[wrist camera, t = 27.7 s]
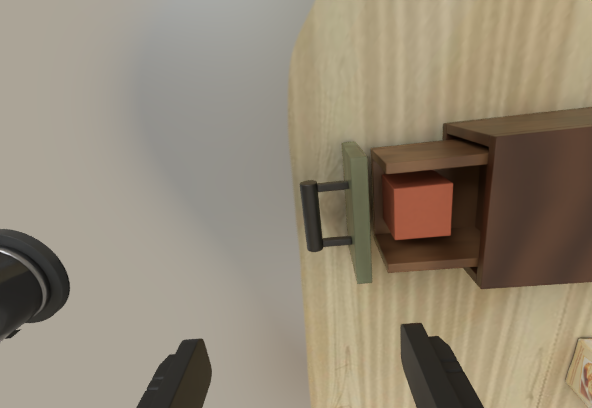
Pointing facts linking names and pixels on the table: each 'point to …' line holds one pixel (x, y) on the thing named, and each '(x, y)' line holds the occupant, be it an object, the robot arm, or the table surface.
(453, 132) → the cabinet
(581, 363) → the coffeecake box
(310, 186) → the drawer
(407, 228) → the block
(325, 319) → the table surface
